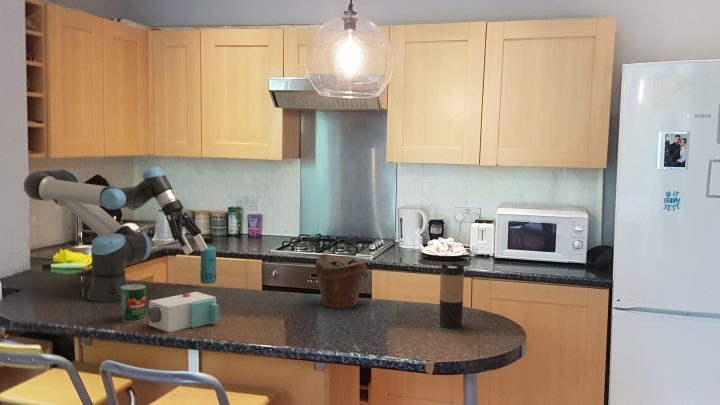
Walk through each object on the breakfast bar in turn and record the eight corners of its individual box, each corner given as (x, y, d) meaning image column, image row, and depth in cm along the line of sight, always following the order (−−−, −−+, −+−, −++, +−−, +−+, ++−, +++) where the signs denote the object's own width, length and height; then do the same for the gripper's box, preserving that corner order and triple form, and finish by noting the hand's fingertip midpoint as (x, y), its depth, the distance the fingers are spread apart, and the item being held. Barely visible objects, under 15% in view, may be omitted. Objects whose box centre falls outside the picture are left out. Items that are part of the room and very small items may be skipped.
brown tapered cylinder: (369, 309, 231) (369, 260, 230) (313, 310, 230) (313, 260, 228) (365, 298, 249) (366, 252, 247) (313, 299, 247) (313, 252, 246)
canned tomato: (135, 323, 210) (134, 290, 209) (116, 320, 213) (115, 287, 212) (151, 317, 217) (150, 285, 216) (132, 314, 220) (131, 283, 219)
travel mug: (456, 330, 208) (458, 269, 206) (435, 326, 212) (436, 266, 210) (465, 324, 215) (467, 265, 213) (444, 321, 219) (446, 262, 217)
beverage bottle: (197, 286, 263) (196, 238, 261) (206, 283, 269) (206, 236, 268) (210, 288, 261) (210, 239, 259) (219, 285, 267) (219, 237, 265)
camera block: (145, 326, 207) (144, 300, 206) (196, 314, 222) (196, 290, 221) (164, 333, 199) (164, 306, 199) (216, 320, 214) (216, 295, 213)
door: (190, 326, 206) (190, 303, 205) (210, 321, 212) (210, 299, 211) (198, 329, 203) (198, 306, 203) (219, 324, 209) (219, 301, 209)
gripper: (162, 199, 235) (191, 249, 233) (191, 198, 259) (218, 243, 258) (146, 209, 236) (174, 259, 234) (177, 208, 260) (203, 253, 259)
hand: (197, 251), depth 246 cm, fingers open, 13 cm apart
